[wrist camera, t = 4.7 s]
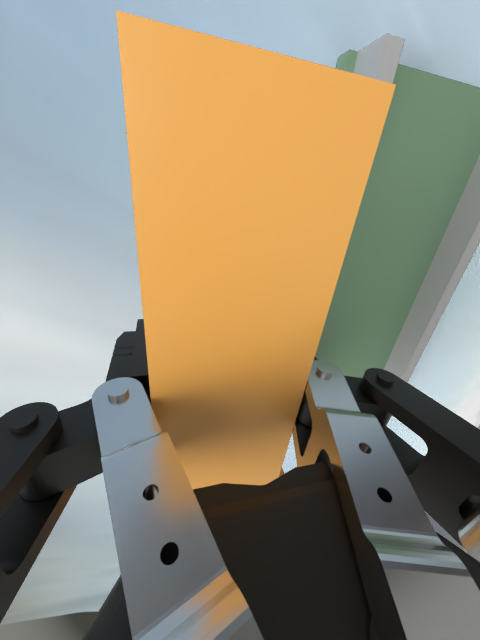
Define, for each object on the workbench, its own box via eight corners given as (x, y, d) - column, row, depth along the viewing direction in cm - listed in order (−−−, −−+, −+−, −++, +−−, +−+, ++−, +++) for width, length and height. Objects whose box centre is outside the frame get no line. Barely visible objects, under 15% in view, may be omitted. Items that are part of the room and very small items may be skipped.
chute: (113, 94, 7) (48, -7, 3) (303, 129, 9) (428, 93, 5) (150, 450, 15) (145, 559, 11) (248, 434, 17) (278, 523, 12)
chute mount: (338, 57, 14) (378, 30, 11) (504, 104, 17) (563, 91, 15) (266, 409, 26) (278, 434, 23) (373, 394, 29) (393, 415, 27)
